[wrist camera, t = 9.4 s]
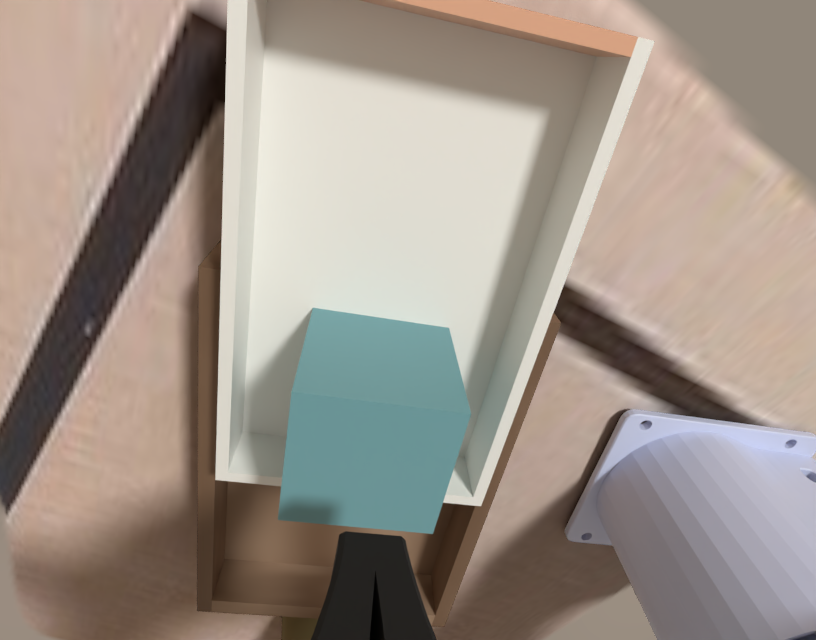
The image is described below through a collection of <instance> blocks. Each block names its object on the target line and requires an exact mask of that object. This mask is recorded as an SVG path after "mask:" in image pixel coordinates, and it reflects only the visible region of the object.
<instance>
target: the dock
mask: <svg viewBox="0 0 816 640" xmlns="http://www.w3.org/2000/svg"><path fill="white" fill-rule="evenodd" d="M221 241H222V239H221ZM221 241H220V242H219V243H218V244H217V245H216V246H215V248H214V249H213V250H212V251H211V252H210V254H209V255H208V256H207V257H206V258H205V260H204V261H203V262H202V263H201V264H200V265H199V267H198V530H197V611H205V612H220V613H236V614H252V615H267V616H283V617H298V618H314V619H318V618H319V615H320V612H321V610H322V607H323V604H324V601H325V598H326V595H327V591H328V588H329V584H330V581H331V576H332V571H333V565H334V560H335V555H336V549H337V544H338V539H339V534H341V533H343V532H345V531H348V532H359V533H371V534H383V535H395V536H402V537H403V538H404V539H405V540H406V545H407V550H408V554H409V558H410V562H411V565H412V569H413V572H414V576H415V579H416V583H417V586H418V589H419V592H420V595H421V598H422V601H423V604H424V607H425V610H426V613H427V616H428V619H429V621H430V624H431V626H439V627H444V626H445V623H446V621H447V618H448V615H449V613H450V610H451V608H452V605H453V602H454V600H455V597H456V595H457V592H458V589H459V587H460V584H461V582H462V579H463V576H464V574H465V571H466V569H467V566H468V564H469V561H470V558H471V556H472V553H473V551H474V548H475V545H476V543H477V540H478V538H479V535H480V532H481V530H482V527H483V525H484V522H485V519H486V517H487V514H488V512H489V509H490V506H491V504H492V501H493V499H494V496H495V493H496V491H497V488H498V486H499V483H500V480H501V478H502V475H503V473H504V470H505V468H506V465H507V462H508V460H509V457H510V455H511V452H512V449H513V447H514V444H515V442H516V439H517V436H518V434H519V431H520V429H521V426H522V423H523V421H524V418H525V416H526V413H527V410H528V408H529V405H530V403H531V400H532V397H533V395H534V392H535V390H536V387H537V384H538V382H539V379H540V377H541V374H542V371H543V369H544V366H545V364H546V361H547V359H548V356H549V353H550V351H551V348H552V346H553V343H554V340H555V338H556V335H557V333H558V330H559V327H560V325H561V322H560V321H559V319H558V318H557V317H556V315H555V314H554V312H553V315H552V318H551V320H550V323H549V326H548V328H547V331H546V334H545V337H544V339H543V342H542V345H541V347H540V350H539V353H538V355H537V358H536V361H535V363H534V366H533V369H532V371H531V374H530V377H529V379H528V382H527V385H526V387H525V390H524V393H523V395H522V398H521V401H520V404H519V406H518V409H517V412H516V414H515V417H514V420H513V422H512V425H511V428H510V430H509V433H508V436H507V438H506V441H505V444H504V446H503V449H502V452H501V454H500V457H499V460H498V462H497V465H496V468H495V471H494V473H493V476H492V479H491V481H490V484H489V487H488V489H487V492H486V495H485V497H484V500H483V503H482V505H481V506H472V505H462V504H452V503H443V504H442V507H441V510H440V513H439V517H438V520H437V523H436V526H435V529H434V532H433V534H428V533H416V532H405V531H394V530H383V529H372V528H361V527H349V526H338V525H327V524H316V523H305V522H293V521H282V520H278V512H279V503H280V493H281V486H271V485H261V484H251V483H241V482H231V481H221V480H215V474H216V435H217V396H218V357H219V319H220V280H221Z"/></svg>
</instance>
